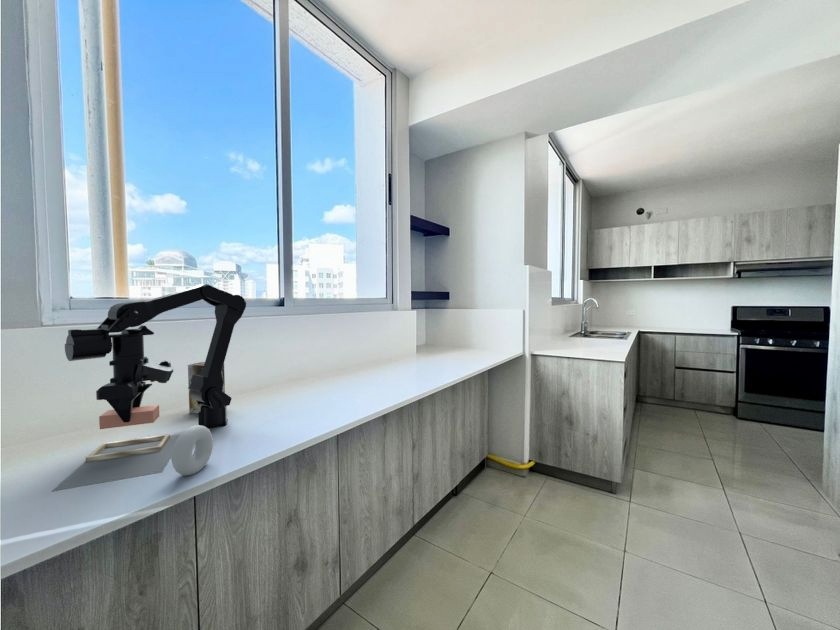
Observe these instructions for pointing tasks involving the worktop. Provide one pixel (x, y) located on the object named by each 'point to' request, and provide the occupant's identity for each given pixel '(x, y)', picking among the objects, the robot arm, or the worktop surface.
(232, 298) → the robot arm
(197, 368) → the coffee box
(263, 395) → the worktop surface
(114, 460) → the mat
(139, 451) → the slot frame
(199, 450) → the donut
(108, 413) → the card deck
